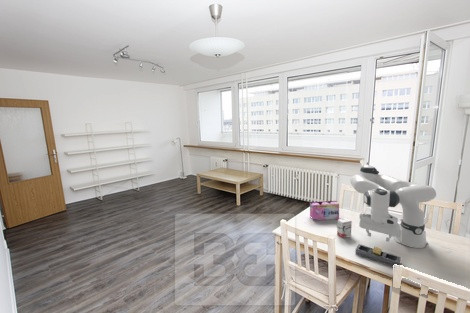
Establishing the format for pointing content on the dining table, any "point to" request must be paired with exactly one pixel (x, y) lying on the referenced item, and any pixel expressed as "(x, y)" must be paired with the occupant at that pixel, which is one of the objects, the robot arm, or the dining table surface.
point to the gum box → (324, 210)
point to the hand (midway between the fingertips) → (378, 238)
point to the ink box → (344, 227)
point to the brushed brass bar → (377, 251)
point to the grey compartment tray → (385, 258)
